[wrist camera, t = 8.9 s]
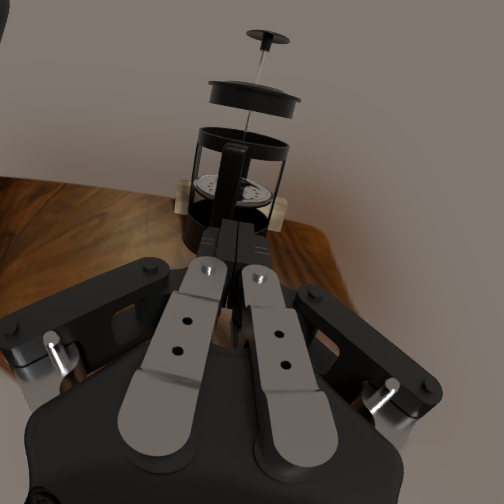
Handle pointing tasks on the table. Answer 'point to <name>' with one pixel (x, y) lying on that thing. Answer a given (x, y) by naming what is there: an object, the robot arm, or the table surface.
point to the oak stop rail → (277, 213)
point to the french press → (238, 156)
